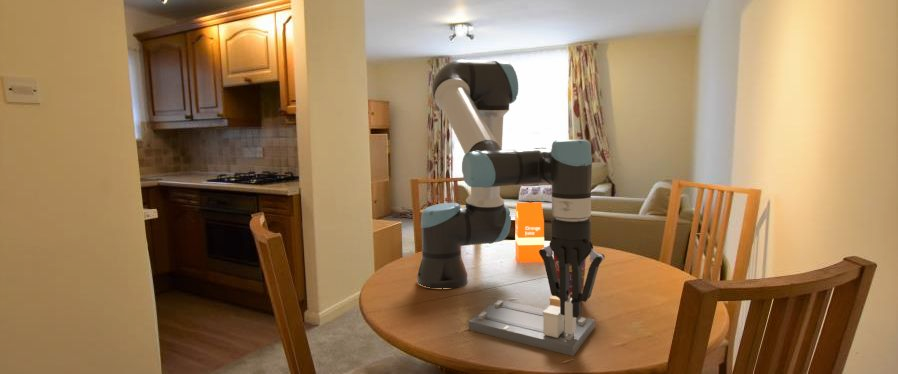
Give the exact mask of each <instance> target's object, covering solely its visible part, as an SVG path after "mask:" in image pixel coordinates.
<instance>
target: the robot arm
mask: <svg viewBox="0 0 898 374" xmlns="http://www.w3.org/2000/svg"><path fill="white" fill-rule="evenodd" d="M431 94H432V98H433V100H434V103H435V104H436V106H437V107H438V108H439V109H440V110H441V111H444V114H445V116H446V118H447V121H448V122H449V125H450V126H451V129H452V130H453V132H454V135H455V137H456V138H457V139H456V140H458V143H459V144H460V147H461V148H462V150H463V153H464V156H463V158H462V162H461V172H462V175H463V177H462V178H463V180H464V182H465V184H466V185H467V186H468V187H470V190H471V191H470V195H469V196H468V197H467V198H466V199H465V206H463V207H462V206H460V204H459V202H458V203H457V202H442V203H438V204H433V205H430V206H428V207H426V208H424V209H423V210H422V212H421V216H420V229H421V230H420V231H421V251H422V252H421V253H422V258H421V260H420V265H419V267H418V271H417V276H416V277H417V281H418V283H419V284H421V285H423V286H426V287H430V288H442V289H443V288H453V289H457V288H456V287H458V288H460V287H459V286H461V287H463V286H464V284H465V285H466V284H467V283H468V272H467V270H466V266H465V262H464V260H463V258H462V246H463V247H464V246H473V245H484V244H494V243H499V242H503V241H504V240H505V239H506V238H507V237H508V235H509V233H510V231H511V230H510V229H511V225H512V217H511V211H510V208H509V206H508V205H507V204H505V200H504V199H503V198H502V197H501V195H500V193H501V187H506V186H507V187H508V186H521V185H536V184H538V185H539V184H540V185H541V184H542V185H543V184H548V185H551V215H552V216H553V218H552V219H551V239H550V242H549V244H548V246H544V248H542V249H541V250H539V254H540V256H541V257H542V259H543V261H544V262H543V265H544V268H545V273H546V277H547V278H546V279H547V281H548V286H549V290H550V295H551V296H556V297H558V298H559V299H560V313H561V315H565V333H569V334H572V333H573V332H574V331H575V330H576V318H578V317H579V316H581V314H582V313H581V312H582V302H588V300H589V299H590V298H591V296H592V292H593V289H594V286H595V285H594V284H595V282H596V277H597V275H598V272H599V271H598V270H599V267H600V265H601V264H602V263H603V261H604V259H605V254H604V253H598V252H597V251H596V250H595V249H594V245H593V244H592V241H591V239H592V235H591V234H592V233H591V229H592V225H591V223H592V221H591V219H590V217H591V216H592V174H593V173H592V172H593V169H592V167H593V157H592V144H591V142H590V141H589V140H588V139H557V140H554V141H553V142H552V145H551V148H547V147H535V148H528V149H504V150H503V135H504V134H503V130H504V116H505V115H506V114H507V113H508V112H509V111H510V105H511V104H512V103H514V102H515V101H516V100H517V97H518V95H519V79H518V76H517V72H516V70H515V68H514V67H513V65H512V64H511V63H510V62H507V61H503V60H502V61H501V60H496V59H494V60H474V59H473V60H471V59H470V60H467V59H458V60H453V61H450V62H448V63H447V64H445V65H444V66H443V67H441V68H440V69H439V70H438V71H437V73H436V75H435V76H434V78H433V81H432V84H431ZM553 252H554V254H555V255H556V257H557V258H558V260H559V268H560V285H559V280H558V276H557V272H556V267H555V263H554V256H553ZM588 256H589V262H590V265H589V267H588V271H587V275H586V279H585V281H584V289H583V293H582V266H583V261H584V260H585V259H586V260H587V259H588ZM570 264H571V269H572V298H568V296H569V295H570V294H569V266H570ZM418 283H417V284H418ZM462 285H463V286H462Z"/></svg>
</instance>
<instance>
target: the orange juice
mask: <svg viewBox="0 0 898 374" xmlns="http://www.w3.org/2000/svg"><path fill="white" fill-rule="evenodd" d="M515 207H516V208H515V219H514V220H515V223H514V224H515V228H514V229H515V232H514V233H515V234H514V235H515V236H514V238H515V258H516V260H517V261H518V263H544V261H543V259H542V257H541V256H540V254H539V250H541V249H542V248H544V247H545V218H544V211H543V203H542V202H541V201H540V202H537V201H536V202H516V205H515Z"/></svg>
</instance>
